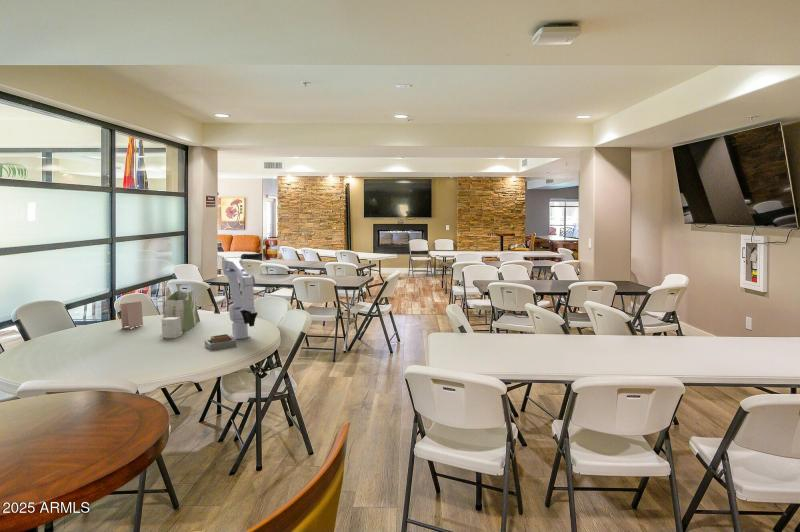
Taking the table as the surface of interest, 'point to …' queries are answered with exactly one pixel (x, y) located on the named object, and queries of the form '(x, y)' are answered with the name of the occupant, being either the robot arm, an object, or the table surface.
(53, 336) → the table surface
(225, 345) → the big crate
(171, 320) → the small box
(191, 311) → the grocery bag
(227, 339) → the small crate
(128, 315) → the pink upright box
